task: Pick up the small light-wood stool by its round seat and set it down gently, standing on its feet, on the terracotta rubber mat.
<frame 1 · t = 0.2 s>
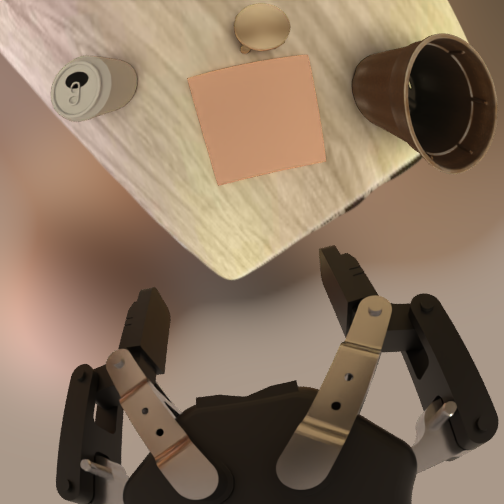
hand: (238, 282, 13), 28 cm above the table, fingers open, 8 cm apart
plant pot: (386, 89, 33), on the table
stool: (256, 34, 28), on the table
mat: (260, 117, 35), on the table
can: (114, 85, 29), on the table
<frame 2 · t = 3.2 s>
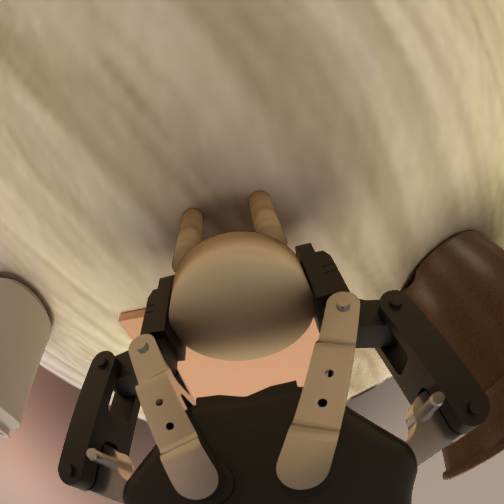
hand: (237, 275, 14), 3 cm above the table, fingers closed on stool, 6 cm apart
plant pot: (446, 280, 22), on the table
stool: (234, 237, 16), on the table, touching gripper
mat: (247, 355, 23), on the table
can: (22, 302, 18), on the table
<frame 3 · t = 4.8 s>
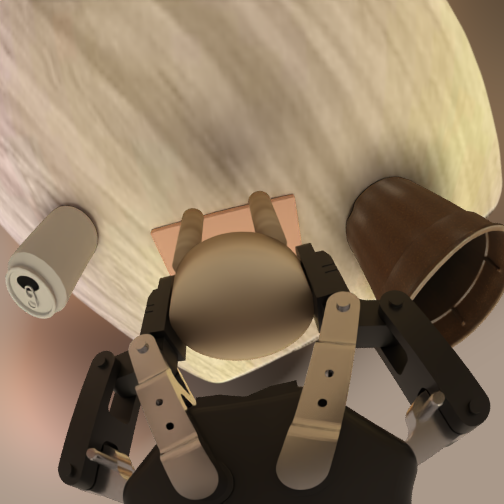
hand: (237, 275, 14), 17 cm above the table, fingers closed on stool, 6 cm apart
plant pot: (387, 218, 32), on the table
stool: (234, 237, 16), point 13 cm above the table, touching gripper
mat: (237, 268, 34), on the table
can: (74, 229, 29), on the table
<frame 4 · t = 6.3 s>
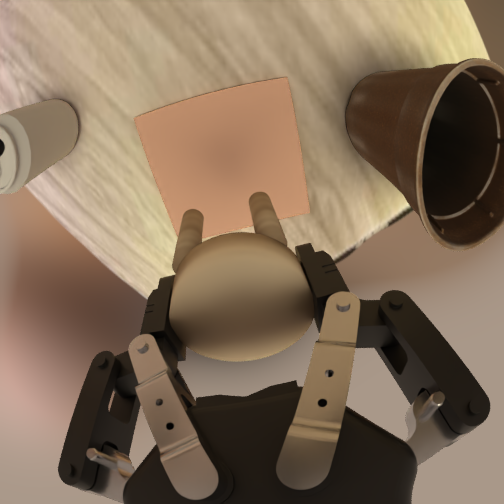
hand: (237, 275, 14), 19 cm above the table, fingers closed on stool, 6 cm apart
plant pot: (389, 117, 27), on the table
stool: (234, 238, 16), point 16 cm above the table, touching gripper
mat: (227, 162, 29), on the table
can: (56, 128, 24), on the table
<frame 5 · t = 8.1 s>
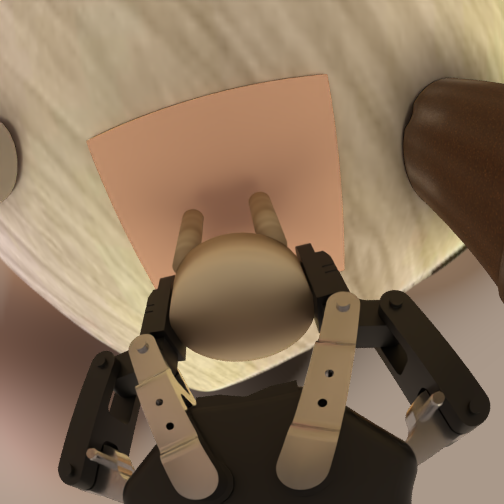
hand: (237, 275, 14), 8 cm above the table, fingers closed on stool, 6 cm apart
plant pot: (451, 141, 18), on the table
stool: (234, 238, 16), point 4 cm above the table, touching gripper
mat: (230, 205, 20), on the table
when the fingers open (5 cm above the table, at t = 9.7 s): stool stays where it is, resting on mat.
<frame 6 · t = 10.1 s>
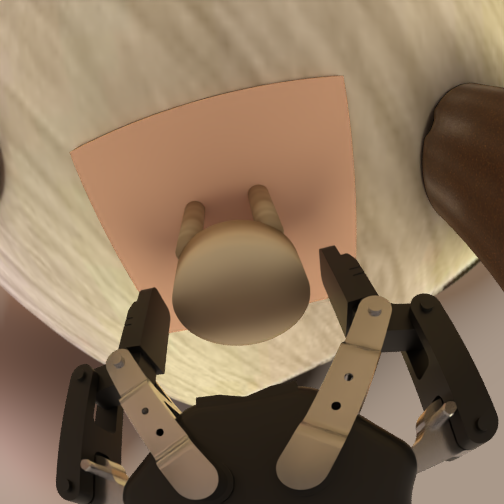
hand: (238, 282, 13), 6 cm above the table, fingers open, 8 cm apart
plant pot: (470, 151, 16), on the table
stool: (234, 229, 17), point 1 cm above the table, touching mat
mat: (232, 223, 18), on the table
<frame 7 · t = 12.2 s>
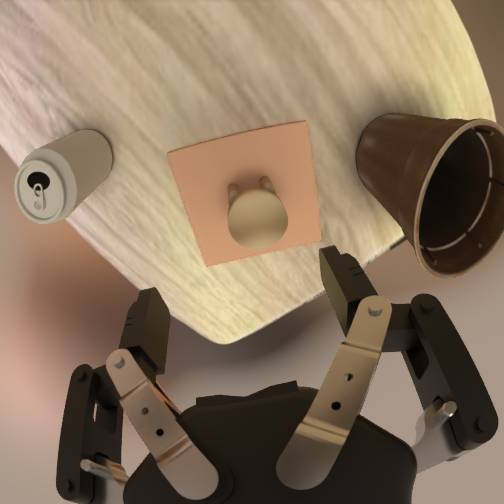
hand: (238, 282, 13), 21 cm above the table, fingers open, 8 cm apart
plant pot: (394, 154, 32), on the table
stool: (252, 198, 33), point 1 cm above the table, touching mat
mat: (251, 196, 34), on the table
can: (89, 156, 28), on the table
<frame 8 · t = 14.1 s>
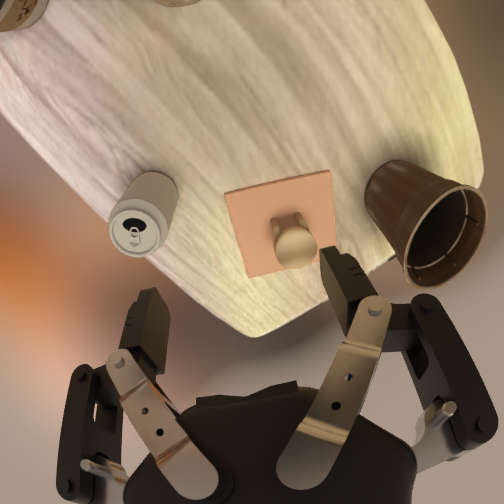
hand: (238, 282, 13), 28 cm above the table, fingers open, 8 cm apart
plant pot: (394, 191, 43), on the table
stool: (287, 228, 44), point 1 cm above the table, touching mat
coffee cup: (32, 8, 17), on the table
mat: (286, 226, 45), on the table
can: (154, 193, 39), on the table
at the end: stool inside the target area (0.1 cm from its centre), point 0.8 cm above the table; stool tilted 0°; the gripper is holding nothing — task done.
